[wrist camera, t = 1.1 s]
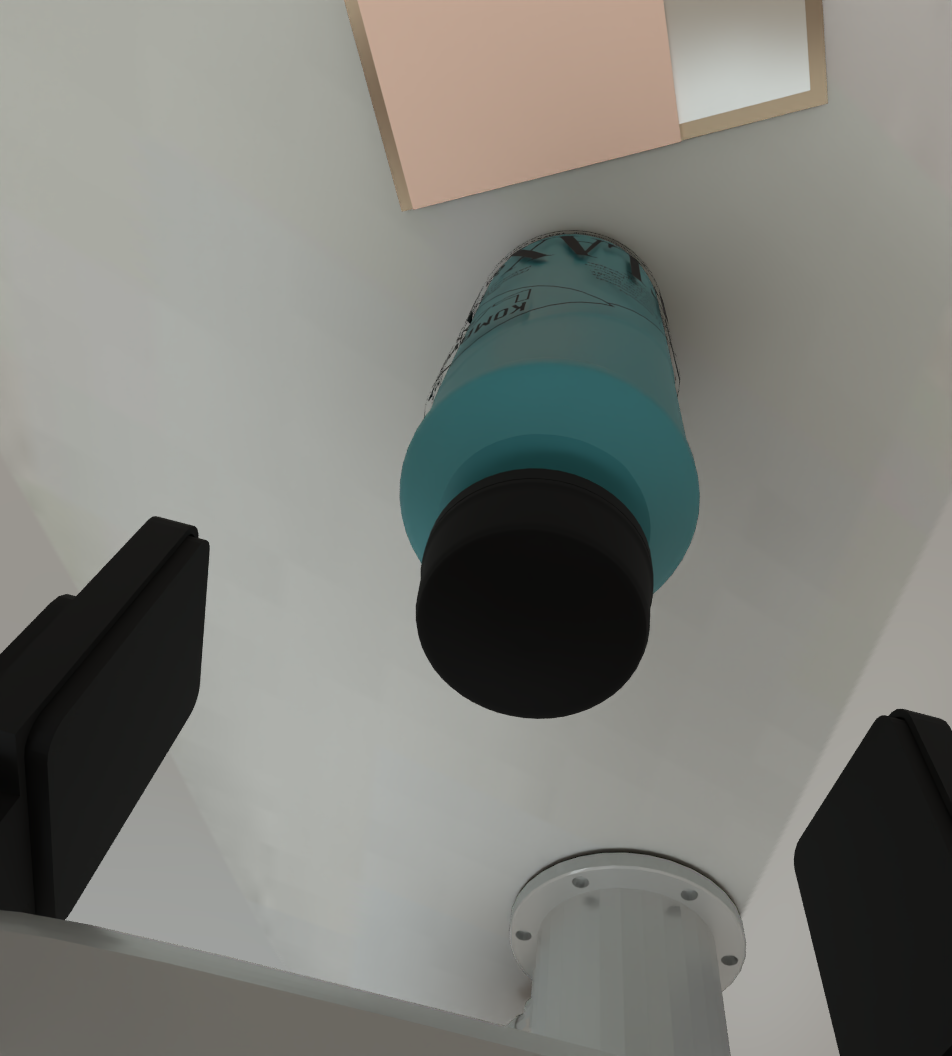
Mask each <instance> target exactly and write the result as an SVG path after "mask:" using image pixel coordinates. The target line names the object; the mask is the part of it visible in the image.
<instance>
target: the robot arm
mask: <svg viewBox="0 0 952 1056" xmlns="http://www.w3.org/2000/svg"><path fill="white" fill-rule="evenodd" d="M209 551H210V546H209V542H208V541H207V540H203V539H200V538H198V530H197V528H196V527H195V526H192V525H188V524H184V523H180V522H176V521H173V520H169V519H165V518H161V517H157V516H154V517H151V518H150V519H149V520H148V521H147V522H146V523H145V524H144V525H143V526H142V527H141V528H140V529H139V530H138V531H137V532H136V533H135V534H134V536H133V537H132V538H131V539H130V540H129V541H128V542H127V543H126V544H125V545H124V546H123V547H122V548H121V549H120V550H119V551H118V552H117V554H116V555H115V556H114V557H113V558H112V559H111V560H110V561H109V562H108V563H107V564H106V565H105V566H104V567H103V568H102V569H101V570H100V572H99V573H98V574H97V575H96V576H95V577H94V578H93V579H92V580H91V581H90V582H89V583H88V584H87V585H86V586H85V587H84V588H83V590H82V591H81V592H80V593H79V594H78V595H77V596H73V595H69V594H65V595H61V596H59V597H57V598H56V599H55V600H54V601H52V602H51V603H50V604H49V605H48V606H47V607H46V608H45V609H44V610H43V611H42V612H41V613H40V614H39V615H38V616H37V617H36V619H34V620H33V621H32V622H31V623H30V625H28V626H27V628H25V630H24V631H23V632H22V633H21V634H20V635H19V636H18V637H17V638H16V639H15V640H14V641H13V642H12V643H11V644H10V645H9V646H8V647H7V648H6V649H5V650H4V651H3V652H2V653H1V654H0V1056H731V1055H730V1048H729V1041H728V1033H727V1026H726V1019H725V1011H724V1004H723V997H722V991H724V990H725V989H726V988H727V987H728V986H729V985H731V984H732V982H733V981H734V980H735V978H736V977H737V975H738V974H739V972H740V971H741V968H742V965H743V963H744V960H745V956H746V940H745V934H744V929H743V923H742V920H741V917H740V915H739V913H738V910H737V908H736V906H735V905H734V903H733V902H732V901H731V899H730V898H729V897H728V896H727V894H726V893H725V892H724V891H723V890H722V889H720V888H719V887H718V886H717V885H716V884H715V883H714V882H712V881H711V880H710V879H708V878H706V877H705V876H703V875H701V874H700V873H698V872H696V871H695V870H693V869H691V868H688V867H686V866H683V865H681V864H678V863H676V862H673V861H670V860H666V859H662V858H658V857H654V856H650V855H643V854H634V853H599V854H593V855H586V856H580V857H577V858H574V859H571V860H567V861H564V862H561V863H558V864H556V865H554V866H553V867H551V868H549V869H547V870H545V871H543V872H541V873H540V874H539V875H537V876H536V877H535V878H533V879H532V880H531V881H530V882H528V883H527V885H526V886H525V887H524V888H523V890H522V891H521V892H520V893H519V895H518V896H517V899H516V901H515V903H514V905H513V908H512V913H511V920H510V928H509V935H510V945H511V948H512V952H513V955H514V957H515V959H516V961H517V962H518V964H519V966H520V967H521V969H522V970H523V971H524V972H525V973H526V974H527V976H528V977H529V978H530V979H531V980H532V991H531V998H530V999H529V1000H528V1001H527V1002H526V1005H525V1008H524V1014H521V1015H518V1016H517V1017H516V1018H515V1019H514V1020H512V1021H511V1022H510V1023H509V1024H508V1025H506V1026H503V1025H499V1024H495V1023H491V1022H487V1021H483V1020H479V1019H475V1018H471V1017H467V1016H463V1015H459V1014H455V1013H451V1012H448V1011H444V1010H440V1009H436V1008H432V1007H428V1006H424V1005H420V1004H416V1003H412V1002H408V1001H404V1000H400V999H396V998H392V997H388V996H384V995H380V994H376V993H372V992H368V991H364V990H360V989H356V988H352V987H348V986H344V985H339V984H335V983H331V982H327V981H323V980H319V979H315V978H311V977H307V976H303V975H299V974H295V973H291V972H287V971H283V970H279V969H275V968H271V967H267V966H263V965H259V964H255V963H251V962H247V961H243V960H238V959H235V958H231V957H227V956H223V955H219V954H214V953H210V952H206V951H201V950H197V949H192V948H188V947H184V946H179V945H175V944H171V943H166V942H162V941H158V940H154V939H149V938H145V937H141V936H136V935H132V934H128V933H123V932H119V931H115V930H110V929H106V928H102V927H97V926H93V925H88V924H83V923H77V922H72V921H66V920H65V919H66V918H67V917H68V915H69V914H70V912H71V911H72V909H73V907H74V906H75V904H76V903H77V901H78V899H79V898H80V896H81V894H82V893H83V891H84V889H85V888H86V886H87V884H88V883H89V881H90V880H91V877H92V876H93V874H94V873H95V871H96V870H97V868H98V866H99V864H100V863H101V861H102V860H103V858H104V856H105V855H106V853H107V851H108V850H109V848H110V846H111V845H112V843H113V842H114V840H115V838H116V837H117V835H118V833H119V832H120V830H121V828H122V827H123V825H124V823H125V822H126V820H127V818H128V817H129V815H130V813H131V812H132V810H133V808H134V807H135V805H136V803H137V802H138V800H139V799H140V797H141V795H142V794H143V792H144V790H145V789H146V787H147V785H148V784H149V782H150V780H151V779H152V777H153V775H154V773H155V772H156V771H157V769H158V767H159V766H160V764H161V762H162V761H163V759H164V757H165V756H166V754H167V752H168V751H169V749H170V747H171V746H172V744H173V742H174V741H175V739H176V738H177V736H178V734H179V733H180V731H181V729H182V728H183V726H184V724H185V723H186V721H187V719H188V718H189V716H190V714H191V712H192V710H193V708H194V706H195V703H196V700H197V697H198V693H199V687H200V675H201V661H202V647H203V634H204V620H205V606H206V592H207V579H208V565H209ZM794 868H795V873H796V877H797V881H798V885H799V889H800V893H801V897H802V901H803V906H804V910H805V914H806V918H807V922H808V926H809V930H810V934H811V939H812V943H813V947H814V951H815V955H816V959H817V963H818V967H819V971H820V976H821V979H822V984H823V988H824V992H825V996H826V1000H827V1004H828V1008H829V1013H830V1017H831V1020H832V1025H833V1028H834V1032H835V1037H836V1041H837V1045H838V1050H839V1054H840V1056H952V730H951V728H950V726H949V725H948V724H947V723H946V721H944V720H942V719H939V718H936V717H932V716H928V715H924V714H921V713H917V712H912V711H909V710H905V709H896V710H895V711H893V712H892V713H891V714H890V715H889V716H885V715H884V716H880V717H879V718H877V719H876V720H875V722H874V723H873V725H872V726H871V728H870V729H869V731H868V733H867V734H866V736H865V737H864V739H863V740H862V742H861V744H860V745H859V747H858V748H857V750H856V751H855V753H854V754H853V756H852V758H851V759H850V761H849V762H848V764H847V766H846V767H845V769H844V770H843V772H842V773H841V775H840V776H839V778H838V780H837V781H836V783H835V784H834V786H833V788H832V789H831V791H830V792H829V794H828V795H827V797H826V799H825V800H824V802H823V803H822V805H821V806H820V808H819V809H818V811H817V813H816V814H815V816H814V817H813V819H812V820H811V822H810V824H809V825H808V827H807V828H806V830H805V831H804V833H803V835H802V836H801V838H800V839H799V841H798V843H797V846H796V849H795V855H794Z"/></svg>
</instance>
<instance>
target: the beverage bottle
mask: <svg viewBox="0 0 952 1056" xmlns="http://www.w3.org/2000/svg"><path fill="white" fill-rule="evenodd" d="M570 231H578V230H570ZM558 232H561V231H558ZM583 232H587V231H583ZM552 233H554V232H552ZM591 233H592V232H591ZM548 234H549V233H548ZM559 234H560V233H559ZM559 234H558V236H553V235H554V234H553V235H549V236H552V237H548V236H545V237H548V238H545V237H544V238H545V239H541V238H542V237H541V238H538V239H541V240H539V241H537V242H534V243H532V244H530V245H528V246H526V247H524V248H522V249H521V250H519V251H517V252H516V253H514V254H513V255H511V254H512V253H511V252H510V253H511V254H510V255H511V256H512V257H511V256H510V257H511V258H510V259H509V260H508V261H507V262H506V263H505V264H504V265H503V266H502V267H500V268H499V269H498V270H499V271H498V270H497V271H498V272H496V273H495V274H494V276H493V277H494V278H493V277H492V278H493V279H492V278H491V279H492V280H491V279H489V280H491V281H489V282H491V283H490V284H489V286H488V288H487V291H486V293H485V295H484V297H482V298H481V300H482V301H481V302H480V303H479V304H480V305H479V307H478V309H477V311H476V313H475V312H474V311H475V310H472V309H473V307H472V309H471V311H470V312H471V313H469V317H468V320H467V322H469V323H470V325H469V326H468V327H467V328H466V330H464V331H467V332H466V334H465V336H464V338H463V340H462V342H461V340H460V343H461V344H460V347H459V349H458V351H457V353H456V355H455V357H454V359H453V361H452V363H451V364H450V365H449V366H450V367H449V366H448V367H449V369H448V371H447V374H446V376H445V378H444V380H443V382H442V384H441V383H440V384H441V386H440V387H439V390H438V392H437V395H436V397H435V399H434V402H432V403H433V406H432V408H431V410H430V411H429V412H428V413H427V415H426V416H425V414H424V419H423V421H422V422H421V424H420V425H419V427H418V428H417V430H416V432H415V434H414V436H413V439H412V441H411V443H410V445H409V447H408V449H407V453H406V456H405V459H404V462H403V466H402V472H401V479H400V506H401V514H402V519H403V522H404V526H405V530H406V533H407V536H408V538H409V540H410V543H411V545H412V548H413V550H414V551H415V553H416V555H417V557H418V558H419V560H420V562H421V564H422V565H421V581H420V586H419V591H418V596H417V603H416V623H417V629H418V635H419V639H420V642H421V645H422V648H423V650H424V652H425V654H426V656H427V658H428V660H429V662H430V663H431V665H432V666H433V668H434V670H435V671H436V672H437V673H438V674H439V675H440V677H441V678H442V679H443V680H444V681H445V682H446V683H447V684H448V685H449V686H451V687H452V688H453V689H454V690H456V691H457V692H458V693H460V694H461V695H462V696H464V697H465V698H467V699H469V700H470V701H472V702H474V703H476V704H478V705H480V706H482V707H484V708H487V709H489V710H492V711H495V712H498V713H502V714H506V715H510V716H515V717H521V718H534V719H545V718H557V717H564V716H568V715H572V714H576V713H579V712H582V711H584V710H587V709H590V708H592V707H594V706H596V705H598V704H600V703H601V702H603V701H605V700H606V699H608V698H609V697H611V696H612V695H613V694H615V693H616V692H617V691H618V690H619V689H620V688H622V686H623V685H624V684H625V683H626V682H627V681H628V680H629V679H630V677H631V676H632V674H633V673H634V672H635V670H636V669H637V667H638V665H639V662H640V660H641V658H642V656H643V654H644V652H645V648H646V645H647V642H648V636H649V630H650V607H651V603H652V597H653V594H654V593H655V592H656V591H657V590H658V589H659V588H660V587H661V586H662V585H663V584H664V583H665V582H666V581H667V580H668V578H669V577H670V576H671V575H672V574H673V572H674V571H675V569H676V568H677V566H678V565H679V563H680V562H681V561H682V559H683V557H684V555H685V553H686V551H687V549H688V547H689V545H690V543H691V540H692V537H693V535H694V532H695V529H696V524H697V519H698V514H699V499H700V492H699V482H698V475H697V471H696V467H695V463H694V458H693V455H692V452H691V450H690V447H689V445H688V442H687V440H686V436H685V431H684V427H683V422H682V417H681V413H680V408H679V403H678V398H677V396H678V394H676V389H675V382H674V372H673V367H672V363H671V358H670V354H669V353H670V351H669V349H668V345H667V340H668V339H667V338H666V336H665V331H664V326H663V325H664V324H663V323H664V322H662V319H664V318H661V316H662V315H661V313H660V312H661V311H660V309H659V305H660V304H659V305H658V303H659V302H658V300H657V296H656V293H657V292H656V290H654V289H655V287H654V288H653V285H652V283H651V281H650V279H649V277H648V276H647V274H646V272H645V271H644V270H643V268H642V267H643V266H642V265H641V264H640V263H639V262H638V261H637V260H636V259H635V258H633V257H632V256H631V255H629V254H628V253H627V252H625V251H624V250H623V249H621V248H620V247H618V246H619V244H618V246H616V245H617V243H616V245H614V244H612V243H611V242H612V241H611V242H608V241H609V240H608V241H605V240H603V239H604V238H603V239H600V236H599V238H596V237H597V236H596V237H595V235H594V237H592V236H593V235H592V236H588V234H587V235H586V233H585V235H584V233H583V235H579V233H578V234H577V232H576V234H575V233H574V234H564V233H563V234H564V235H559ZM595 234H596V233H595ZM544 235H546V234H544ZM556 235H557V234H556ZM589 235H590V234H589ZM599 235H600V234H599ZM541 236H542V235H541ZM602 236H603V235H602ZM538 237H539V236H538ZM605 237H606V236H605ZM601 238H602V237H601ZM608 238H609V237H608ZM533 239H534V238H533ZM538 239H537V240H538ZM610 239H611V238H610ZM531 240H532V239H531ZM606 240H607V239H606ZM613 240H614V239H613ZM529 241H530V240H529ZM534 241H535V240H534ZM531 242H533V241H531ZM616 242H617V241H616ZM525 243H526V242H525ZM613 243H614V242H613ZM618 243H619V242H618ZM523 244H524V243H523ZM526 244H528V243H526ZM620 244H621V243H620ZM622 245H623V244H622ZM520 246H521V245H520ZM524 246H525V245H524ZM518 247H519V246H518ZM621 247H622V246H621ZM625 247H626V246H625ZM520 248H521V247H520ZM515 249H516V248H515ZM515 249H514V250H515ZM518 249H519V248H518ZM624 249H625V248H624ZM516 250H517V249H516ZM629 250H630V249H629ZM627 251H628V250H627ZM514 252H515V251H514ZM630 253H631V252H630ZM633 253H634V252H633ZM631 254H632V253H631ZM634 254H635V253H634ZM635 255H636V254H635ZM635 255H633V256H635ZM508 256H509V255H508ZM508 256H507V257H508ZM636 256H637V255H636ZM507 257H506V258H507ZM637 257H638V256H637ZM506 258H505V259H506ZM638 258H639V257H638ZM638 258H637V259H638ZM502 260H503V259H502ZM502 260H501V261H502ZM506 260H507V259H506ZM638 260H639V259H638ZM501 261H500V262H501ZM639 261H640V260H639ZM500 262H499V263H500ZM499 263H498V264H499ZM643 263H644V262H643ZM643 263H642V264H643ZM640 265H641V266H642V267H641V266H640ZM643 265H644V264H643ZM644 266H645V265H644ZM647 268H648V267H647ZM494 270H495V268H494ZM650 272H651V271H650ZM651 276H652V275H651ZM488 278H489V277H488ZM655 281H656V280H655ZM485 283H486V282H485ZM655 283H656V282H655ZM487 285H488V282H487ZM656 285H657V284H656ZM483 287H484V286H483ZM485 287H486V286H485ZM482 289H483V288H482ZM658 289H659V288H658ZM481 291H482V290H481ZM480 293H481V292H480ZM659 293H660V294H661V292H659ZM657 295H658V294H657ZM479 296H480V295H479ZM482 296H483V295H482ZM660 298H661V295H660ZM660 300H661V302H662V306H663V310H664V311H663V312H664V314H665V317H666V319H667V316H666V312H665V308H664V304H663V300H662V298H661V299H660ZM479 301H480V300H479ZM475 302H476V301H475ZM474 304H475V303H474ZM477 305H478V304H476V307H477ZM473 306H474V305H473ZM474 307H475V306H474ZM660 307H661V306H660ZM473 312H474V313H475V315H474V317H473ZM472 317H473V320H472ZM662 317H663V316H662ZM666 319H665V320H664V321H665V322H666ZM667 322H668V320H667ZM668 325H669V324H668ZM465 326H466V325H465ZM665 326H667V323H666V325H665ZM462 328H464V327H462ZM666 328H667V330H668V327H666ZM464 329H465V328H464ZM669 329H670V328H669ZM665 330H666V329H665ZM464 331H463V332H464ZM463 332H462V333H463ZM667 332H668V334H669V332H670V331H667ZM460 333H461V332H460ZM459 335H460V334H459ZM462 335H463V334H462ZM462 335H461V338H459V339H462ZM670 337H671V336H670V335H669V338H670ZM457 338H458V337H457ZM459 339H457V341H458V340H459ZM666 339H667V340H666ZM671 341H672V340H671V339H670V342H669V343H671ZM671 347H672V344H671ZM452 348H453V347H452ZM455 348H456V349H457V348H458V344H457V345H456V347H455ZM455 348H454V350H455V351H456V349H455ZM454 350H453V351H454ZM672 351H673V349H672ZM452 353H453V352H452ZM452 353H451V355H452ZM674 353H675V352H674ZM674 353H673V355H674ZM451 355H449V356H451ZM675 355H676V354H675ZM449 358H450V357H448V358H447V359H446V360H448V359H449ZM674 360H675V357H674ZM445 362H447V361H445ZM675 364H676V361H675ZM444 365H445V363H444ZM444 365H443V367H444ZM448 367H447V368H448ZM447 368H446V369H447ZM676 368H677V365H676ZM446 369H445V370H446ZM441 370H443V369H441ZM445 370H444V371H445ZM444 371H441V373H440V375H443V374H442V373H443V372H444ZM677 372H678V370H677ZM679 375H680V373H679V374H678V376H679ZM439 377H440V376H438V379H439ZM440 378H441V377H440ZM438 379H437V380H438ZM437 380H436V381H437ZM441 380H442V378H441ZM675 380H676V377H675ZM438 381H439V380H438ZM679 381H680V378H679ZM439 382H440V381H439ZM434 384H435V383H434ZM437 384H438V385H439V383H437ZM679 385H680V382H679ZM432 387H433V386H432ZM434 387H436V388H437V386H434ZM433 390H434V388H433ZM433 390H432V393H431V394H432V395H433ZM435 391H436V389H435ZM678 393H679V391H678ZM429 394H430V393H429ZM432 395H430V397H429V400H430V398H431V397H432ZM433 398H434V397H433ZM427 399H428V398H427ZM429 400H428V401H429ZM432 400H433V399H432ZM426 403H427V402H426Z"/></svg>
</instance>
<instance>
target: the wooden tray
mask: <svg viewBox="0 0 952 1056" xmlns="http://www.w3.org/2000/svg"><path fill="white" fill-rule="evenodd" d="M344 2H345V5H346V9H347V13H348V16H349V20H350V24H351V27H352V31H353V34H354V38H355V42H356V45H357V49H358V53H359V56H360V60H361V64H362V67H363V71H364V75H365V78H366V82H367V86H368V89H369V93H370V97H371V100H372V104H373V108H374V111H375V115H376V119H377V122H378V126H379V130H380V133H381V137H382V141H383V144H384V148H385V152H386V155H387V159H388V163H389V166H390V170H391V174H392V177H393V181H394V185H395V188H396V192H397V196H398V199H399V203H400V207H401V210H402V211H406V210H410V209H413V207H412V203H411V199H410V196H409V192H408V188H407V184H406V181H405V177H404V173H403V169H402V166H401V162H400V158H399V154H398V151H397V147H396V143H395V139H394V136H393V132H392V128H391V124H390V121H389V117H388V113H387V110H386V106H385V102H384V98H383V95H382V91H381V87H380V83H379V80H378V76H377V72H376V68H375V65H374V61H373V57H372V53H371V50H370V46H369V42H368V38H367V35H366V31H365V27H364V23H363V20H362V16H361V12H360V8H359V5H358V1H357V0H344ZM663 2H664V10H665V18H666V25H667V33H668V41H669V49H670V57H671V65H672V73H673V81H674V88H675V96H676V104H677V112H678V120H679V128H680V136H681V141H682V140H686V139H690V138H694V137H697V136H701V135H705V134H709V133H713V132H717V131H721V130H725V129H729V128H733V127H737V126H741V125H745V124H749V123H753V122H756V121H760V120H764V119H768V118H772V117H776V116H780V115H784V114H788V113H792V112H796V111H800V110H804V109H808V108H812V107H815V106H819V105H823V104H827V103H828V99H827V80H826V62H825V43H824V25H823V7H822V0H663Z"/></svg>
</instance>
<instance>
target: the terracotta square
mask: <svg viewBox="0 0 952 1056" xmlns="http://www.w3.org/2000/svg"><path fill="white" fill-rule="evenodd" d="M357 1H358V5H359V8H360V12H361V16H362V20H363V23H364V27H365V31H366V35H367V38H368V42H369V46H370V50H371V53H372V57H373V61H374V65H375V68H376V72H377V76H378V80H379V83H380V87H381V91H382V95H383V98H384V102H385V106H386V110H387V113H388V117H389V121H390V124H391V128H392V132H393V136H394V139H395V143H396V147H397V151H398V154H399V158H400V162H401V166H402V169H403V173H404V177H405V181H406V184H407V188H408V192H409V196H410V199H411V203H412V207H413V210H414V209H418V208H422V207H426V206H430V205H434V204H438V203H442V202H446V201H450V200H454V199H458V198H462V197H465V196H469V195H473V194H477V193H481V192H485V191H489V190H493V189H497V188H501V187H505V186H509V185H513V184H517V183H521V182H525V181H528V180H532V179H536V178H540V177H544V176H548V175H552V174H556V173H560V172H564V171H568V170H572V169H576V168H580V167H584V166H588V165H592V164H595V163H599V162H603V161H607V160H611V159H615V158H619V157H623V156H627V155H631V154H635V153H639V152H643V151H647V150H651V149H655V148H658V147H662V146H666V145H670V144H674V143H678V142H681V136H680V128H679V120H678V112H677V104H676V96H675V88H674V81H673V73H672V65H671V57H670V49H669V41H668V33H667V25H666V18H665V10H664V2H663V0H357Z"/></svg>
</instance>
